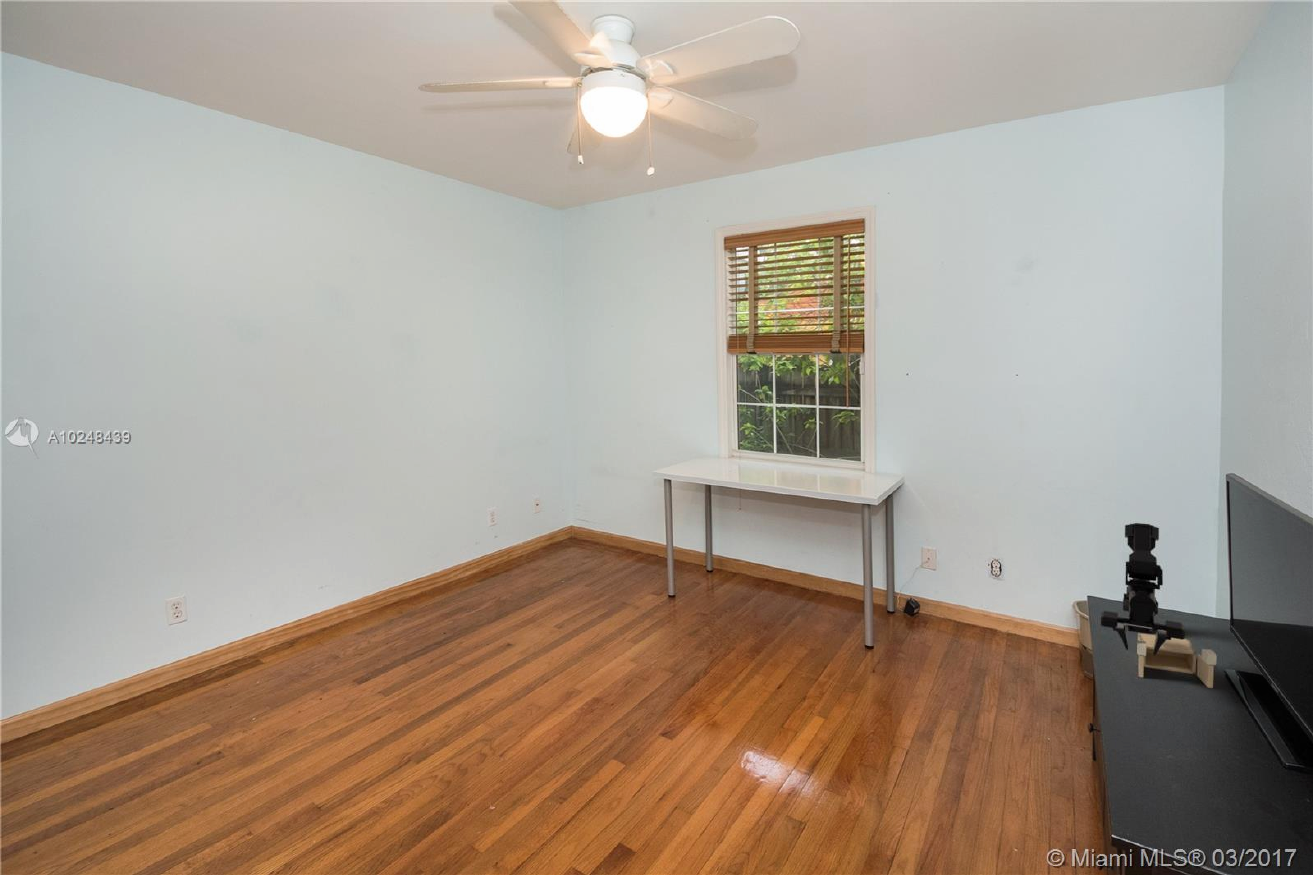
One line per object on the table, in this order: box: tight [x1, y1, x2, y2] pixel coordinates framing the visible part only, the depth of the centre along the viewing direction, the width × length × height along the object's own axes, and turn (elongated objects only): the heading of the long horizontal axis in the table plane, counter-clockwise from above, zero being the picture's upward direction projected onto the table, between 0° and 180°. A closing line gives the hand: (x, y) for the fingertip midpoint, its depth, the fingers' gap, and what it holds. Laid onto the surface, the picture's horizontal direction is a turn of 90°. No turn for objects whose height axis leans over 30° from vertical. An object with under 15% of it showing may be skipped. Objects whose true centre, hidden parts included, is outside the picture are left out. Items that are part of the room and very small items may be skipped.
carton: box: [1137, 632, 1197, 675], centre depth 180 cm, size 9×12×7 cm
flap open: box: [1196, 648, 1217, 689], centre depth 169 cm, size 2×6×10 cm, turn 159°
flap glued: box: [1136, 639, 1146, 678], centre depth 176 cm, size 2×6×10 cm, turn 142°
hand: (1140, 652), depth 175 cm, fingers open, 6 cm apart
